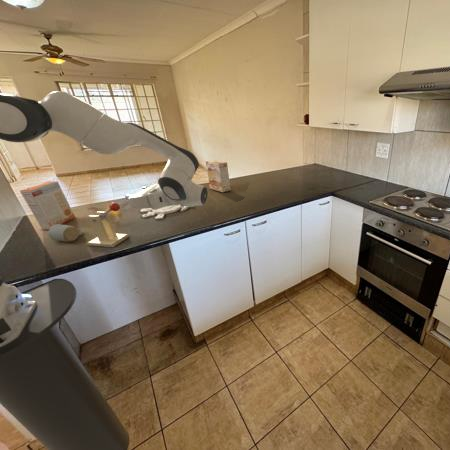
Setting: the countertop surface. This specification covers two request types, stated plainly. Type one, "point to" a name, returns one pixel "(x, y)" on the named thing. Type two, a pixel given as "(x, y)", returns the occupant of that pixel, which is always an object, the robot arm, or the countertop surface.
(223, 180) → the coffeecake box
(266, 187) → the countertop surface
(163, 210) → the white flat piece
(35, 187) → the cracker box
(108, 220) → the bracket
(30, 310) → the robot arm
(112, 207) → the lever
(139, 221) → the countertop surface
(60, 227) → the ceramic mug
